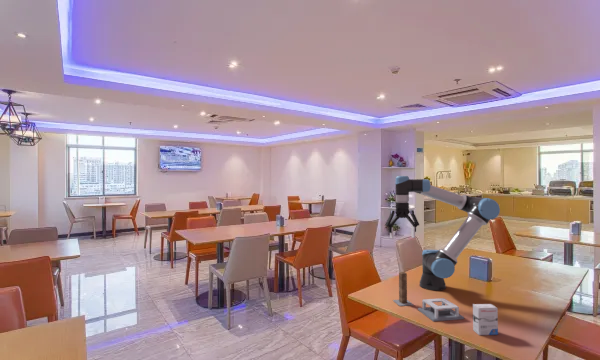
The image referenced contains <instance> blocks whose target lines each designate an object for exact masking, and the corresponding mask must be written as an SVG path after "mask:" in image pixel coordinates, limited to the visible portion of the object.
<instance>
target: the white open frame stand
mask: <svg viewBox="0 0 600 360" xmlns="http://www.w3.org/2000/svg"><path fill="white" fill-rule="evenodd" d="M421 302H422V307H417V311H419V312H420V313H421V314H423V315H424V316H425V317H427V318H428V319H429V320H431V321H432V322H442V321H443V322H444V321H455V320H456V321H458V320H464V319H465V316H464V315H461V314H460V308H459V306H458V305H456V304H455V303H453V302H451V301H450V300H447V299H446V298H444V297H442V298H441V297H439V298H438V297H437V298H428V299H427V298H424V299H422V301H421ZM435 303H441V305H437V304H435ZM427 305H428V307H427ZM442 309H444V310H442Z"/></svg>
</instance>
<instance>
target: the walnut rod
mask: <svg viewBox="0 0 600 360" xmlns="http://www.w3.org/2000/svg"><path fill="white" fill-rule="evenodd" d="M398 295H399V296H398V300H399V302H401V303H407V300H408V274H407V272H406V271H399V272H398Z"/></svg>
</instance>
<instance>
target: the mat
mask: <svg viewBox="0 0 600 360" xmlns="http://www.w3.org/2000/svg"><path fill="white" fill-rule="evenodd" d="M392 301H393V302H394V303H395V304H396V305H397V306H399V307H407V306H408V307H409V306H414V303H412V302H411V301H409V299H407V303H401V302H399V299H393V300H392Z"/></svg>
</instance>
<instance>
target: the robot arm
mask: <svg viewBox="0 0 600 360" xmlns="http://www.w3.org/2000/svg"><path fill="white" fill-rule="evenodd" d="M394 185H395V210H390V213H389V216H388V218H387V220H386V222H385V227H388V233H389V238H390V239H392V240H393V239H394V227H393V226H394V225H395V224H396V222H397V221H398V220H399V219H407V221H408V222H409V223H410V224H411V228H410V229H411V232H410V233H411V234H410V235H411V236H410V237H411V238H413V239H415V238H416V232H417V227H418V226H420V223H419V221H418V219H417V216H416V214H415V210H414V209H410V203H409V202H410V193H416V194H418V195H422V196H426V197H427V198H431V199H434V200H436V201H440V202H442V203H445V204H448V205H451V206H453V207H457V209H458V210H461V211H462V212H466V213H467V218H465V220H464V221H463V223H462V224H461V225H460V227H459V228H458V229H457V231H456V232H455V233H454V234H453V236H452V237H451V238H450V240H449V241H448V242H447V243H446V244H445V246H444V248H441V249H424V250H422V254H421V256H422V257H421V259H422V260H421V262H422V265H421V266H422V274H421V276H420V280H419V287H420V288H422V289H426V290H429V291H444V290H446V287H447V285H446V282H445V279H448V278H450V277H452V276H453V275H454V273H455V271H456V270H455V268H456V265H457V264H458V257H460V255H461V253H462V252H463V251H464V250H465V248H466V247H467V246H468V244H469V243H470V242H471V241H472V239H473V238H474V237H475V235H476V234H477V233H478V231H479V230H480V229H481V227H483V226H487V224H488V223H489V222H490V221H491V220H494V219H497V217H498V216H499V215H500V212H501V209H500V205H499V204H498V202H497V201H496V200H494V199H492V198H489V197H476V196H470V195H466V194H462V195H461V194H458V193H456V192H453V191H450V190H447V189H443V188H441V187H438V186H434V185H432V184H431V181H430V180H429V179H428V178H427V179H426V178H422V179H421V178H419V179H415V178H412V179H411V178H409V176H408V175H398V176H396V177H395V183H394ZM409 214H410V215H409ZM411 217H412V218H411Z"/></svg>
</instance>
